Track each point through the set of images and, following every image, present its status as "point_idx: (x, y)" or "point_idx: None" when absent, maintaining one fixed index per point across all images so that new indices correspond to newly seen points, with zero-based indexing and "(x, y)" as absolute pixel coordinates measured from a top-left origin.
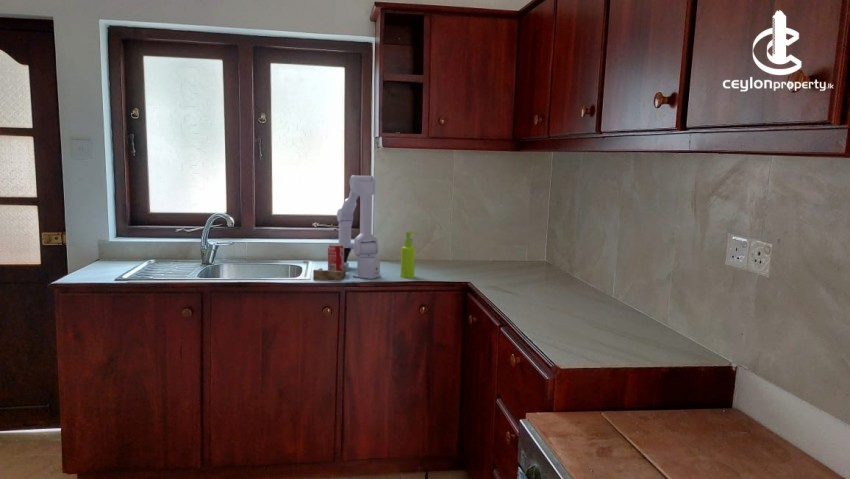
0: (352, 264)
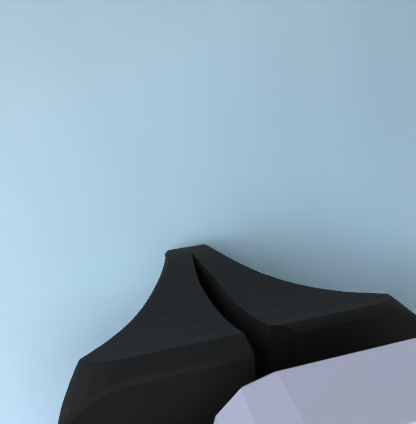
0: (226, 38)
